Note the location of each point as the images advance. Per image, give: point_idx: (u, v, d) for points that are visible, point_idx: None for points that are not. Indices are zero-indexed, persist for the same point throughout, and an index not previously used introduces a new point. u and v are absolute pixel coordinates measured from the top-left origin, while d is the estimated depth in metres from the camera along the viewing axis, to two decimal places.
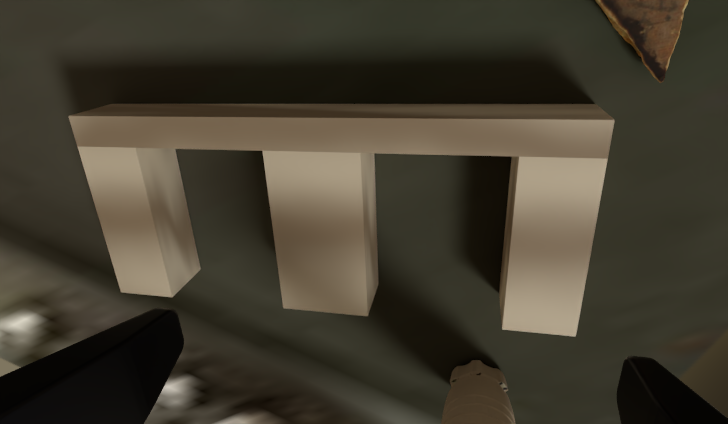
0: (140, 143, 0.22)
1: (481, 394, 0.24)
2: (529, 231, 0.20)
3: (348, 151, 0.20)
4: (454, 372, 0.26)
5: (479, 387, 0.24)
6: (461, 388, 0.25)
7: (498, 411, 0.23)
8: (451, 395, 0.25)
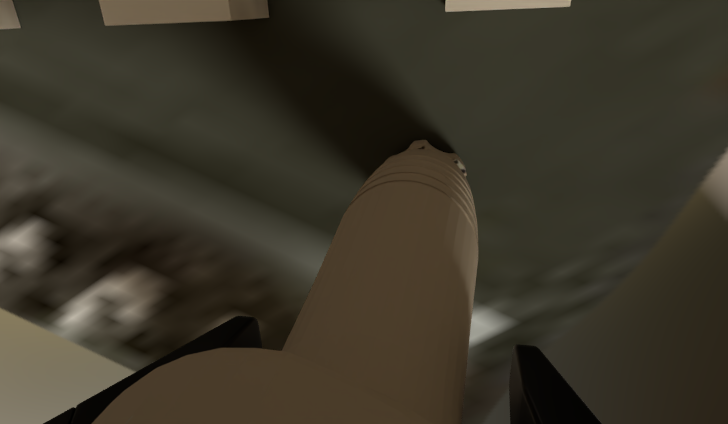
0: None
1: (418, 155, 0.15)
2: None
3: None
4: (388, 158, 0.17)
5: (417, 151, 0.15)
6: (391, 158, 0.15)
7: (443, 170, 0.14)
8: None
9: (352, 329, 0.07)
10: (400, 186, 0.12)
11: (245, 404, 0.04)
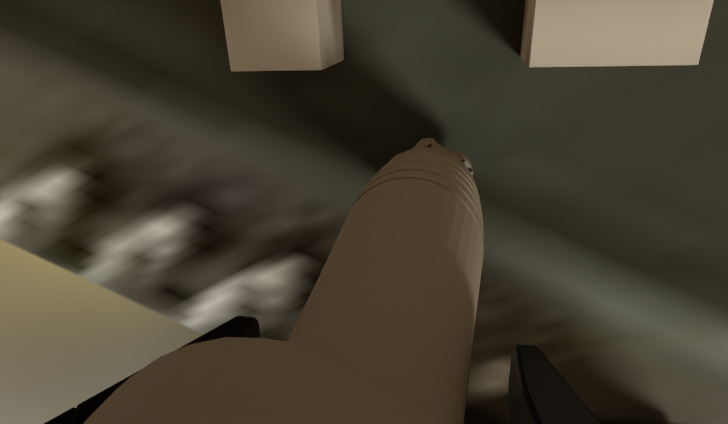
0: None
1: (425, 153, 0.15)
2: None
3: None
4: None
5: (424, 149, 0.15)
6: (397, 155, 0.15)
7: (450, 168, 0.14)
8: None
9: (356, 323, 0.07)
10: (405, 182, 0.12)
11: (249, 392, 0.04)
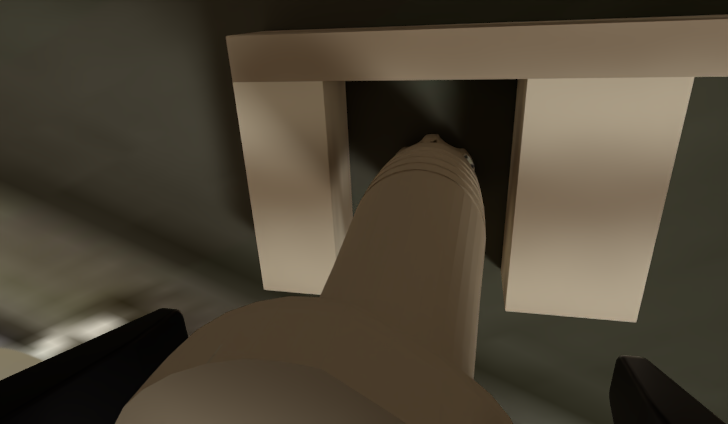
0: (331, 74, 0.15)
1: (432, 148, 0.16)
2: None
3: (674, 75, 0.13)
4: (400, 149, 0.18)
5: (431, 144, 0.16)
6: (405, 149, 0.16)
7: (456, 163, 0.15)
8: None
9: (382, 296, 0.08)
10: (418, 174, 0.13)
11: (321, 338, 0.05)
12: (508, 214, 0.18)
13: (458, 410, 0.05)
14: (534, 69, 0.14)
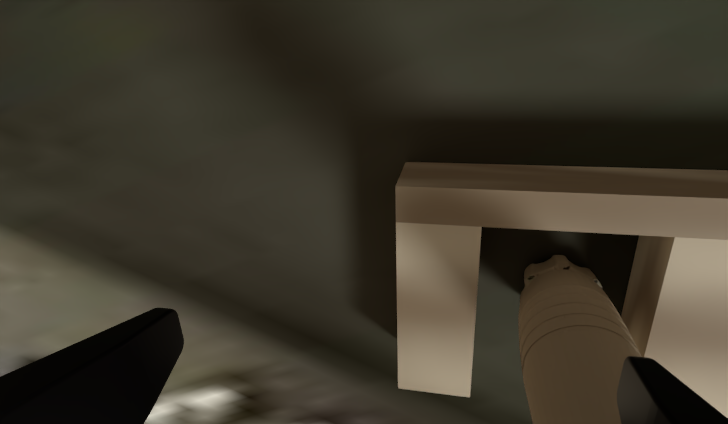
0: (491, 222, 0.17)
1: (579, 285, 0.18)
2: None
3: None
4: (530, 268, 0.20)
5: (574, 278, 0.18)
6: (548, 280, 0.18)
7: (606, 305, 0.17)
8: (533, 290, 0.18)
9: None
10: (594, 334, 0.15)
11: None
12: (628, 328, 0.20)
13: None
14: (682, 230, 0.16)
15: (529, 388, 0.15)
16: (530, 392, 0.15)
